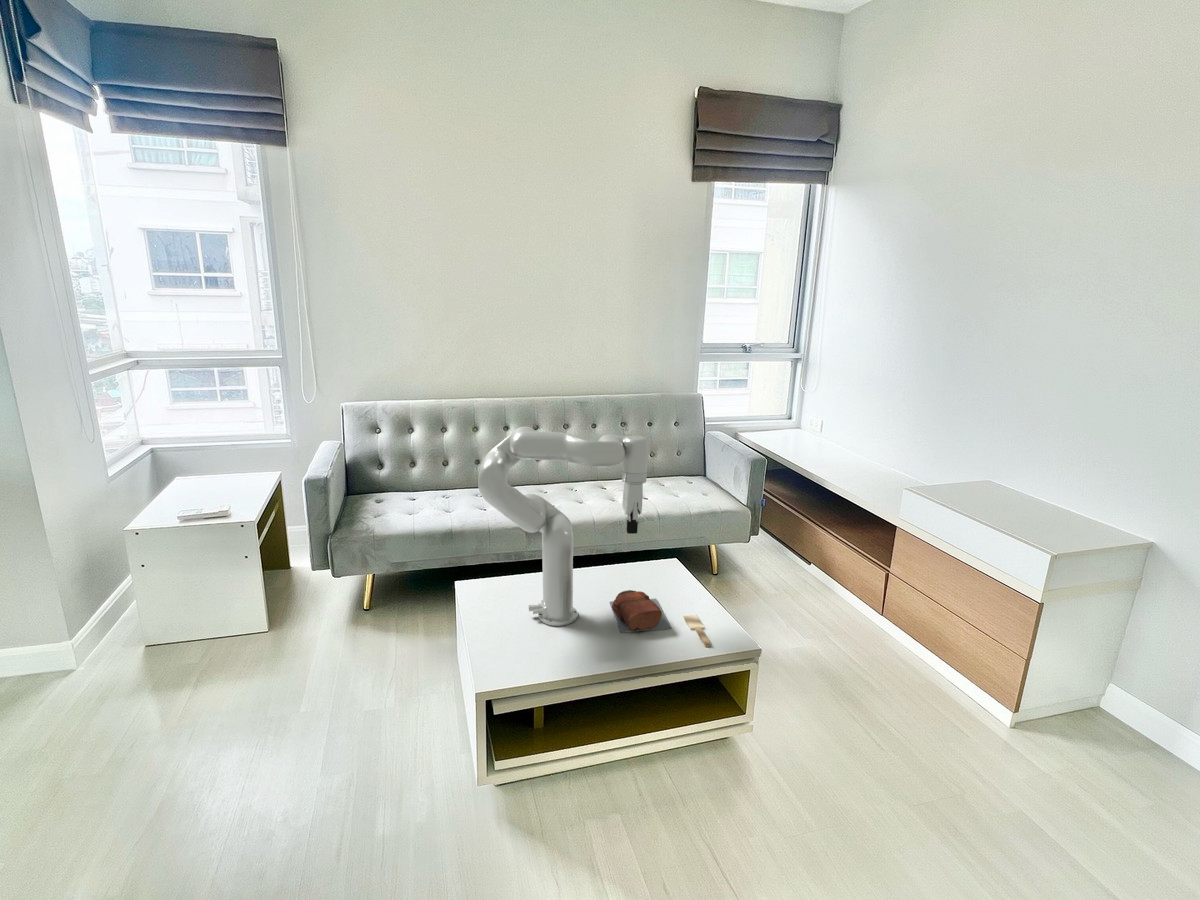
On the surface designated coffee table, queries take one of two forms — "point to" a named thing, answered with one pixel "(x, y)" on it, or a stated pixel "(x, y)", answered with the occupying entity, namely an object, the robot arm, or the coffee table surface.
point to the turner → (697, 628)
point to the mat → (661, 625)
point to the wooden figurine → (636, 610)
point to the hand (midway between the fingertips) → (631, 532)
